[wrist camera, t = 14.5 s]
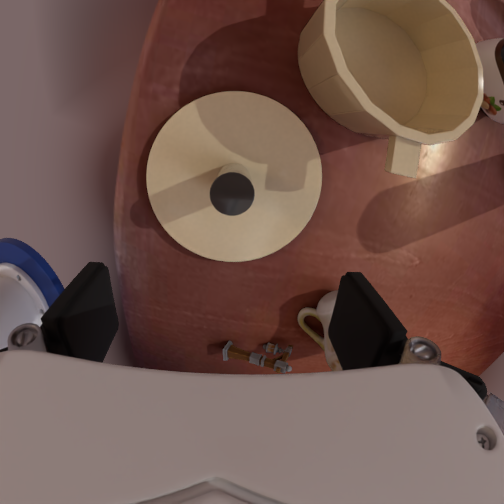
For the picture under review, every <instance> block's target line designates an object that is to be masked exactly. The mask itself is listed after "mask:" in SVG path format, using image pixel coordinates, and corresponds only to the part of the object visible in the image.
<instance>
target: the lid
mask: <svg viewBox="0 0 504 504" xmlns="http://www.w3.org/2000/svg"><path fill="white" fill-rule="evenodd" d="M146 182H147V191H148V196H149V200H150V203H151V206H152V209H153V211H154V213H155V215H156V217H157V219H158V220H159V222H160V223H161V225H162V226H163V228H164V229H165V230H166V231H167V232H168V234H169V235H170V236H171V237H172V238H173V239H175V240H176V241H177V242H178V243H179V244H181V245H182V246H184V247H185V248H186V249H188V250H190V251H192V252H194V253H196V254H198V255H201V256H203V257H206V258H210V259H214V260H218V261H226V262H241V261H249V260H253V259H258V258H261V257H264V256H267V255H269V254H271V253H273V252H275V251H277V250H279V249H281V248H282V247H284V246H285V245H287V244H288V243H289V242H291V241H292V240H293V239H294V238H295V237H296V236H297V235H298V234H299V233H300V232H301V231H302V230H303V228H304V227H305V226H306V224H307V223H308V221H309V220H310V218H311V216H312V214H313V212H314V210H315V208H316V205H317V203H318V200H319V196H320V191H321V184H322V167H321V161H320V156H319V152H318V149H317V146H316V144H315V142H314V140H313V138H312V136H311V134H310V132H309V131H308V129H307V128H306V126H305V125H304V123H303V122H302V121H301V120H300V119H299V118H298V117H297V116H296V115H295V114H294V113H293V112H292V111H290V110H289V109H288V108H287V107H285V106H283V105H282V104H280V103H279V102H277V101H275V100H273V99H270V98H268V97H266V96H263V95H259V94H256V93H251V92H244V91H225V92H218V93H214V94H210V95H206V96H204V97H201V98H199V99H196V100H194V101H192V102H191V103H189V104H187V105H186V106H184V107H183V108H181V109H180V110H179V111H178V112H176V113H175V114H174V115H173V116H172V117H171V118H170V119H169V120H168V121H167V122H166V123H165V125H164V126H163V128H162V129H161V130H160V132H159V133H158V135H157V137H156V139H155V141H154V143H153V145H152V148H151V151H150V154H149V158H148V163H147V172H146Z"/></svg>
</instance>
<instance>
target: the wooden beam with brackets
mask: <svg viewBox="0 0 504 504" xmlns="http://www.w3.org/2000/svg"><path fill="white" fill-rule="evenodd" d="M292 348H293V345H288V347H287V348H286V350H284V351H285V352H283V349H281V348H280V349H279V348H278V344H276V345H274V344H271V343H268V344H267V345H266V344H264V345H263V349H266V353H267V352H270V353H274V355H275V354H276V353H277V352H279V353H280V352H283V353H284V354H283V355H281V356H279V357H277V358H274V359H269V358H266V356H265V355H264V357H263V356H262V354H256V353H254V352H252V353H250V352H246V351H244V350H241V349H239V348H237V347H235V346H233V345H232V342H231V341H230V340H229V342H228V343H227V345H226V346H225V347H224V349H223V358H224V360H226V361H227V360H228V358H235V359H241V360H246V361H250V363H253V364H256V365H258V366H259V365H261V366H262V367H264V366H266V367H269V368H273V369H274V371H276V372H277V373H280V372H282V373H284V374H285V372H286V371H287V372H290V371H291V370H292V367H291V366H288V363H286V361H287V359H288V357H289V356H290V354H291V351H292ZM280 359H281V361H279V360H280Z"/></svg>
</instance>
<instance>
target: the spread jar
mask: <svg viewBox="0 0 504 504" xmlns="http://www.w3.org/2000/svg"><path fill="white" fill-rule="evenodd" d="M475 45H476V47H477V51H478V54H479V57H480V60H481V63H482V67H483V101H482V104H481V107H480V109H481V110H482V111H483V112H484V113H485V114H486V115H487V116H488V117H489V118H491V119H492V120H494V121H496V122H498V123H501V124H504V38H496V39H490V40H484V41H481V42H478V43H476V44H475Z"/></svg>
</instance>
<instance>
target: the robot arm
mask: <svg viewBox="0 0 504 504" xmlns="http://www.w3.org/2000/svg"><path fill="white" fill-rule="evenodd" d="M118 325H119V323H118V317H117V313H116V308H115V303H114V298H113V293H112V287H111V282H110V276H109V270H108V267H107V266H105V265H104V264H103V263H100V262H89V263H88V264H87V265H86V266H85V267H84V268H83V269H82V271H81V272H80V273H79V274H78V275H77V276H76V277H75V278H74V279H73V281H72V282H71V283H70V284H69V285H68V286H67V287H66V288H65V290H64V291H63V292H62V293H61V294H60V295H59V297H58V298H57V299H56V300H55V301H54V302H53V304H52V305H51V306H50V307H48V304H47V302H46V299H45V297H44V296H43V294H42V292H41V290H40V289H39V287H38V286H37V285H36V283H35V282H34V281H33V280H32V278H31V277H30V276H29V275H28V274H27V273H26V272H24V271H23V270H22V269H20V268H19V267H17V266H15V265H13V264H11V263H0V504H504V402H503V401H502V400H500V399H499V398H498V397H496V396H495V395H493V394H492V393H490V394H489V396H488V395H487V388H486V386H485V383H484V382H483V381H482V379H481V378H480V377H478V376H476V375H474V374H471V373H469V372H466V371H464V370H461V369H459V368H457V367H454V366H452V365H449V364H447V363H445V362H442V361H441V351H440V349H439V347H438V346H437V345H436V344H435V343H434V342H432V341H431V340H429V339H427V338H424V337H411V338H410V339H407V337H406V336H405V335H406V333H407V330H406V329H405V327H404V326H403V325H402V323H401V322H400V321H399V320H398V318H397V317H396V316H395V314H394V313H393V312H392V310H391V309H390V308H389V307H388V305H387V304H386V303H385V301H384V300H383V299H382V298H381V296H380V295H379V294H378V293H377V291H376V290H375V289H374V288H373V286H372V285H371V284H370V283H369V281H368V280H367V279H366V278H365V277H364V275H363V274H362V273H361V272H347V273H346V275H345V276H342V277H341V281H340V285H339V289H338V293H337V297H336V301H335V305H334V309H333V313H332V317H331V320H330V324H329V328H328V336H329V339H330V341H331V344H332V346H333V348H334V351H335V353H336V355H337V358H338V360H339V362H340V365H341V367H342V371H331V372H318V373H300V374H272V375H233V374H205V373H188V372H174V371H163V370H153V369H144V368H136V367H128V366H120V365H114V364H107V363H102V362H103V360H104V358H105V356H106V354H107V351H108V349H109V347H110V345H111V343H112V340H113V338H114V336H115V334H116V332H117V330H118Z"/></svg>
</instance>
